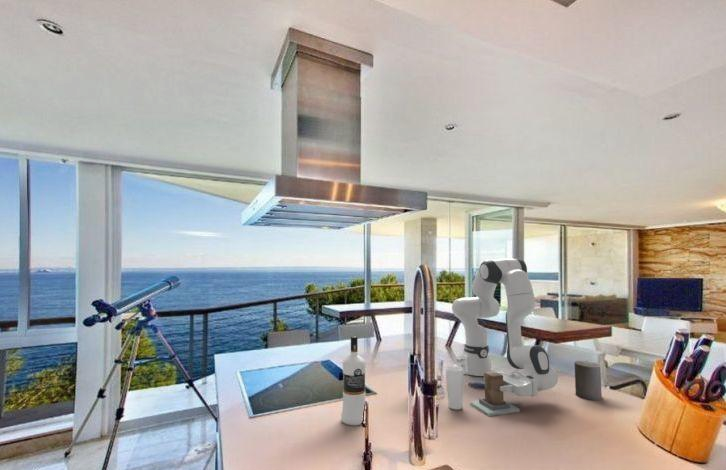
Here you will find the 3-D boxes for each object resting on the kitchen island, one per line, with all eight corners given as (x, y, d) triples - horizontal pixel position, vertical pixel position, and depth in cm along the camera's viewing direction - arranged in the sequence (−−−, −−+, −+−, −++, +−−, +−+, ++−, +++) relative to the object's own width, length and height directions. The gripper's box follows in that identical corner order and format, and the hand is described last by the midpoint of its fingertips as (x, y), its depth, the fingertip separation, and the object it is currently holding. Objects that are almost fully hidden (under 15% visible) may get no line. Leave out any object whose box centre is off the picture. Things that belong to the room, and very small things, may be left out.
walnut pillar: (485, 403, 145) (484, 372, 146) (495, 402, 146) (494, 371, 147) (493, 408, 140) (492, 376, 141) (503, 406, 141) (502, 375, 142)
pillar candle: (571, 395, 157) (570, 359, 158) (581, 390, 163) (580, 356, 164) (596, 402, 149) (594, 364, 150) (605, 397, 155) (604, 361, 156)
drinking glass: (444, 409, 142) (443, 369, 143) (449, 403, 148) (448, 365, 149) (462, 412, 139) (461, 372, 140) (466, 406, 145) (465, 367, 146)
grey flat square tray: (470, 404, 147) (470, 398, 147) (499, 400, 151) (499, 394, 151) (488, 416, 135) (488, 409, 135) (519, 411, 139) (519, 404, 139)
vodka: (363, 414, 137) (363, 333, 139) (369, 425, 128) (369, 338, 130) (339, 417, 135) (339, 334, 137) (343, 427, 126) (344, 339, 128)
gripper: (503, 366, 158) (476, 369, 154) (539, 380, 138) (508, 384, 134) (504, 381, 157) (476, 384, 153) (539, 397, 138) (509, 402, 134)
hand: (491, 384), depth 143 cm, fingers open, 8 cm apart
